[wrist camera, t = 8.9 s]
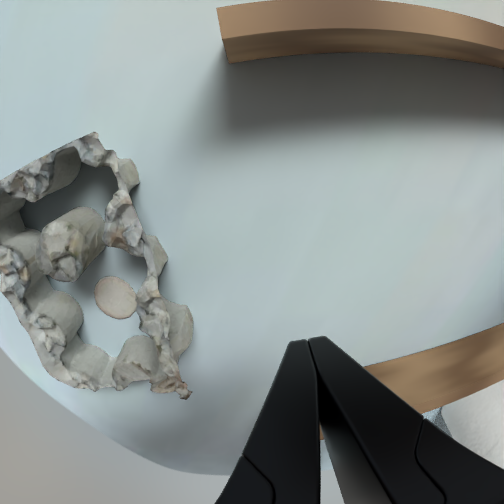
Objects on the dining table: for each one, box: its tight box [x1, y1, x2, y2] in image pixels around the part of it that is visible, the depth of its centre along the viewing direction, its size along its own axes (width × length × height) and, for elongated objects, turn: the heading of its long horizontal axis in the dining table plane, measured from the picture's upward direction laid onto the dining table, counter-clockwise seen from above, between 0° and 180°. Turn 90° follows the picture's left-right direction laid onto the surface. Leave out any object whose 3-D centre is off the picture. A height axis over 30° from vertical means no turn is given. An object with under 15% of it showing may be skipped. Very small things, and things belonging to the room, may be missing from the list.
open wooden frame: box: [216, 0, 504, 440], centre depth 11 cm, size 20×17×4 cm
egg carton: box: [0, 132, 193, 400], centre depth 11 cm, size 11×8×4 cm
